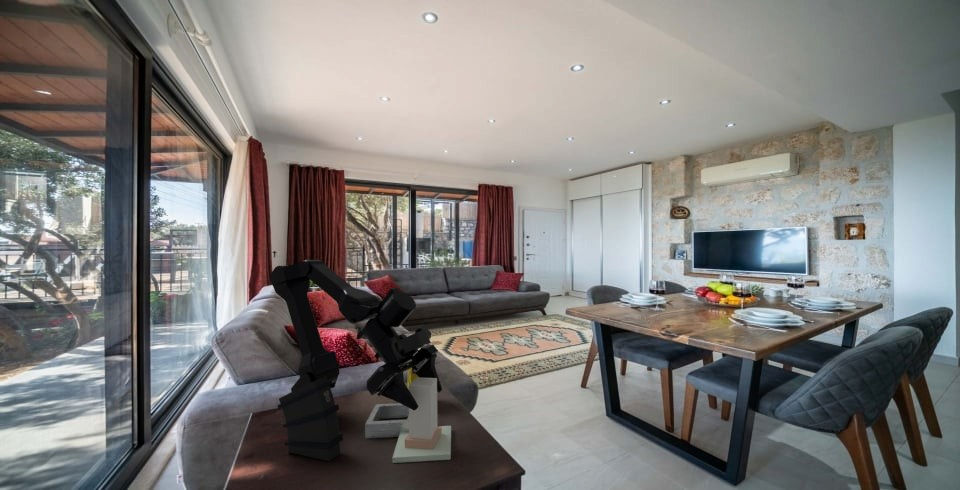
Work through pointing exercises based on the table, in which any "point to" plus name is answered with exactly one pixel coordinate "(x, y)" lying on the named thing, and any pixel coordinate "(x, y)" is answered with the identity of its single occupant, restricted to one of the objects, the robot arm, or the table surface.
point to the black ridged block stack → (312, 421)
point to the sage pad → (417, 454)
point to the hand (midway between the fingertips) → (429, 399)
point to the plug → (423, 415)
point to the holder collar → (387, 428)
